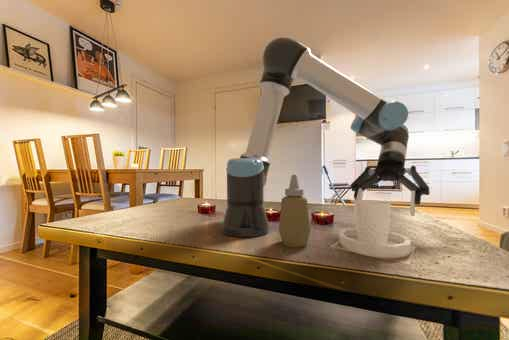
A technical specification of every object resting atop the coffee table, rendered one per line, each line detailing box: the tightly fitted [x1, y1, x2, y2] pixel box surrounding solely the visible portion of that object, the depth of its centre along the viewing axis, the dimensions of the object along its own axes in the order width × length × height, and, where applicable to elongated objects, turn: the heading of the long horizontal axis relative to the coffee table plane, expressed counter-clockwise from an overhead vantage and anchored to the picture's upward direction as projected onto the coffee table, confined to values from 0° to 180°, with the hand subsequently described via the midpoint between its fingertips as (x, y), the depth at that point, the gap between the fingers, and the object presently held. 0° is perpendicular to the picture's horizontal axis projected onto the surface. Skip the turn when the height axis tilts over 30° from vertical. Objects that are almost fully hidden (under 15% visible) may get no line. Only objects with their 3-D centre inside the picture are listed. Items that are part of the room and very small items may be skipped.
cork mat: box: [329, 239, 417, 266], centre depth 54 cm, size 16×14×1 cm
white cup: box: [353, 199, 392, 245], centre depth 54 cm, size 8×8×10 cm
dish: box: [338, 227, 412, 259], centre depth 54 cm, size 15×15×3 cm
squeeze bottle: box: [278, 174, 311, 248], centre depth 57 cm, size 8×8×18 cm
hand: (382, 210), depth 62 cm, fingers open, 13 cm apart
